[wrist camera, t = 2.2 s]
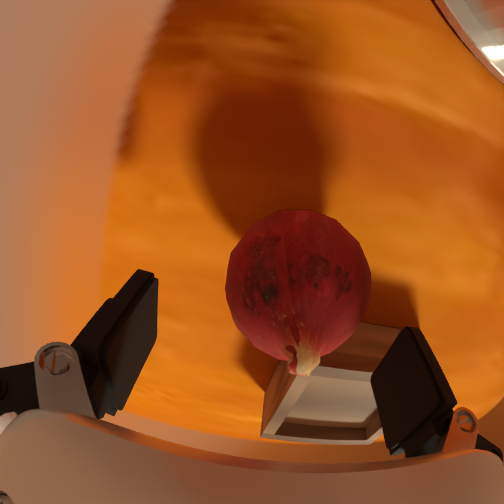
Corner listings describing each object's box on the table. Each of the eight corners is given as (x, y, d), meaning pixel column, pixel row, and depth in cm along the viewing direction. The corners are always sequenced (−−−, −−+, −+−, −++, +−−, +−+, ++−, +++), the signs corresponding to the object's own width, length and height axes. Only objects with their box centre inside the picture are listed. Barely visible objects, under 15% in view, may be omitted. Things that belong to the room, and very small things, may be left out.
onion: (218, 224, 14) (159, 329, 7) (319, 168, 13) (364, 235, 5) (274, 305, 16) (265, 427, 9) (365, 264, 15) (414, 379, 7)
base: (300, 310, 16) (303, 363, 13) (420, 331, 16) (440, 376, 13) (264, 392, 20) (260, 437, 17) (363, 404, 20) (370, 444, 17)
